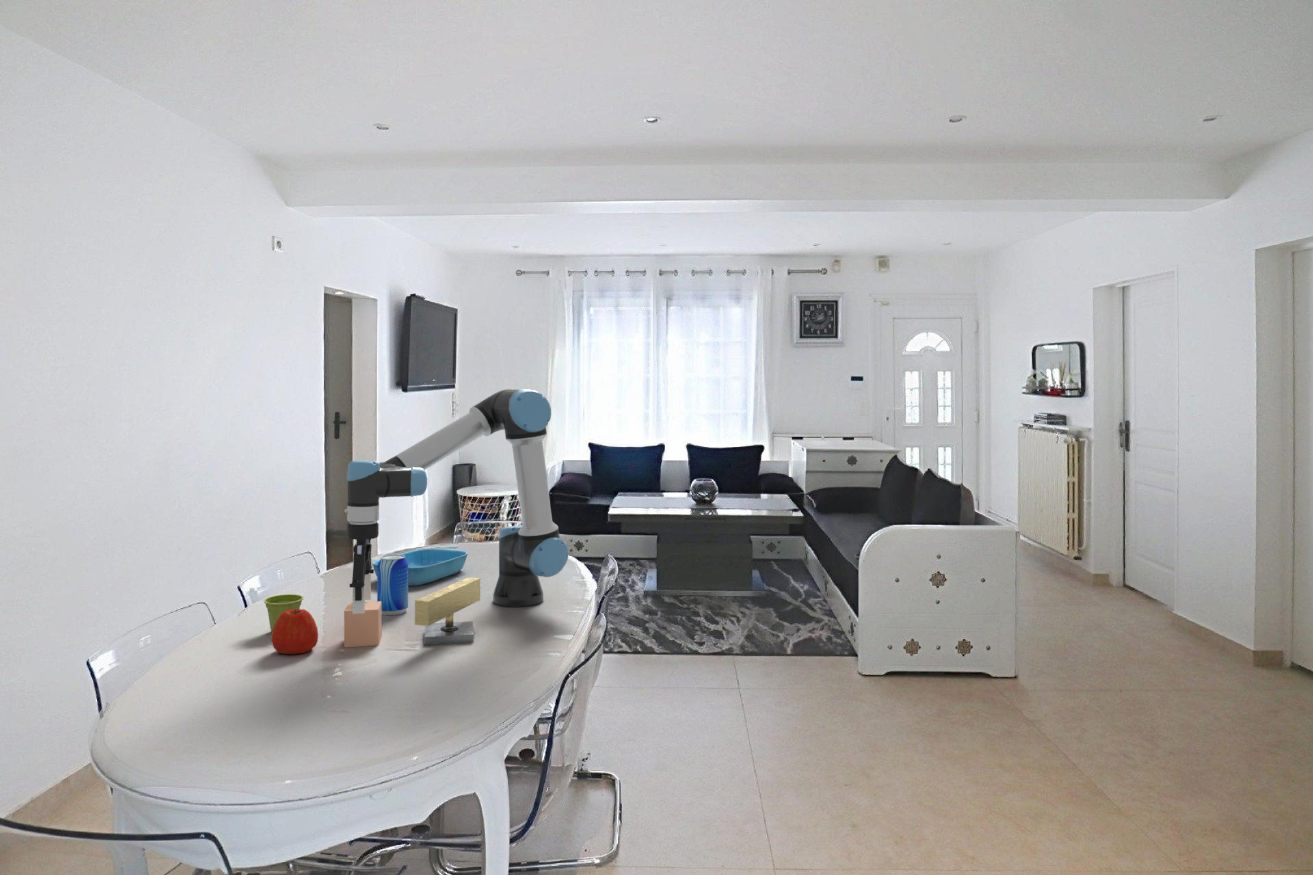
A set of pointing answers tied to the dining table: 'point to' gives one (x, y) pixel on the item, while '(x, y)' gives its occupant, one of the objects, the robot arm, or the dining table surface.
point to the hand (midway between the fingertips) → (361, 606)
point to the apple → (294, 632)
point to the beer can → (392, 584)
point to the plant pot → (281, 606)
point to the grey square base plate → (449, 633)
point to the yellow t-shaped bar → (446, 602)
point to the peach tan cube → (363, 625)
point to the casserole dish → (431, 564)
